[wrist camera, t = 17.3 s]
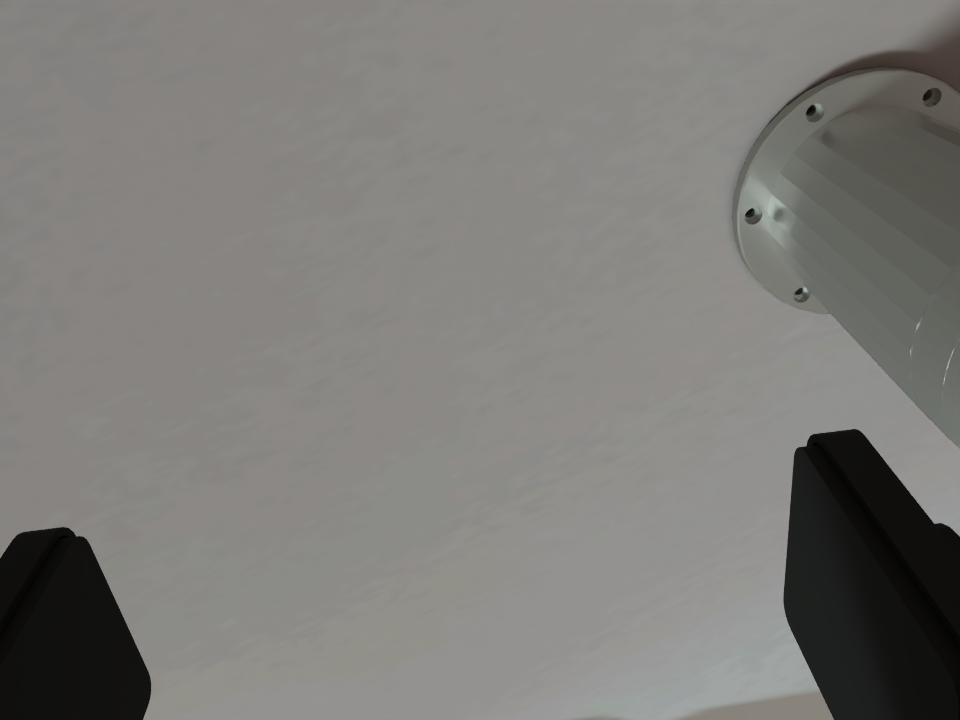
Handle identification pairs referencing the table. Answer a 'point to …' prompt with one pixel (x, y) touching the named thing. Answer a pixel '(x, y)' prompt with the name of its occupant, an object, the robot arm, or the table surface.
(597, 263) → the table surface
